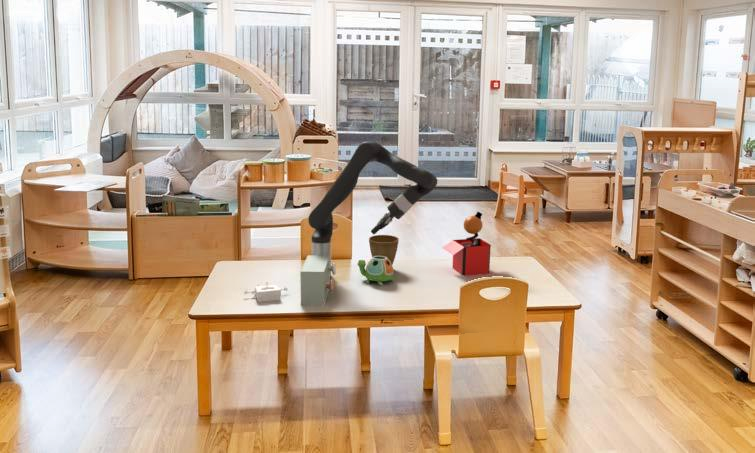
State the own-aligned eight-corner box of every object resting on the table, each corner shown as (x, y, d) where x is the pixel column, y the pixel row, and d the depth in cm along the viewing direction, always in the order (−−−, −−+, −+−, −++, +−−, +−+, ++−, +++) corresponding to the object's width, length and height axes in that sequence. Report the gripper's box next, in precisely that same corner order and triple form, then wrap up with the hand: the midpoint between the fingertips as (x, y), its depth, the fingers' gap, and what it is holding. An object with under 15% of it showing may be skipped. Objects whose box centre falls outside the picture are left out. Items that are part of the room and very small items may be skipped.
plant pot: (362, 268, 384) (362, 237, 380) (386, 263, 393) (386, 233, 389) (380, 275, 372) (380, 243, 369) (404, 270, 381) (404, 239, 377)
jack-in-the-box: (487, 264, 393) (490, 207, 386) (500, 272, 379) (503, 213, 372) (440, 268, 386) (442, 209, 379) (452, 276, 372) (454, 216, 365)
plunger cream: (305, 275, 343) (305, 263, 342) (307, 272, 348) (306, 260, 347) (334, 276, 342) (334, 264, 341) (336, 272, 348) (336, 260, 347)
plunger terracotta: (302, 293, 332) (302, 281, 331) (303, 289, 338) (303, 277, 336) (332, 294, 332) (332, 281, 331) (333, 290, 337) (333, 278, 336)
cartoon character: (284, 294, 352) (292, 299, 336) (241, 298, 345) (246, 303, 330) (283, 277, 351) (291, 281, 336) (240, 281, 345) (245, 285, 329)
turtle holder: (364, 274, 373) (364, 251, 371) (397, 280, 365) (398, 256, 362) (352, 281, 363) (352, 257, 360) (385, 287, 354) (386, 262, 352)
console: (300, 304, 329) (300, 271, 326) (308, 286, 354) (307, 255, 351) (324, 305, 329) (323, 271, 325) (329, 286, 354) (329, 255, 351)
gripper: (394, 197, 343) (367, 223, 346) (394, 203, 330) (365, 230, 333) (406, 209, 344) (378, 235, 347) (406, 215, 331) (377, 242, 334)
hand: (372, 232), depth 340 cm, fingers closed
